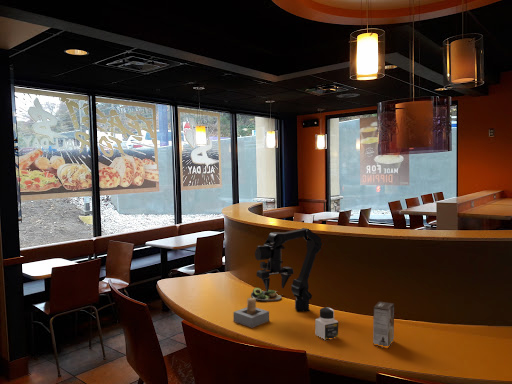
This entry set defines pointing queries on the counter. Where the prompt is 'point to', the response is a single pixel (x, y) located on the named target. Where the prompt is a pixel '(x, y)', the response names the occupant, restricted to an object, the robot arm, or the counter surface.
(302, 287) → the robot arm
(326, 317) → the medicine bottle
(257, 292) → the salad plate
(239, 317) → the socket block
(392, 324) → the coffee box
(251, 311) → the oak peg
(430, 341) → the counter surface
